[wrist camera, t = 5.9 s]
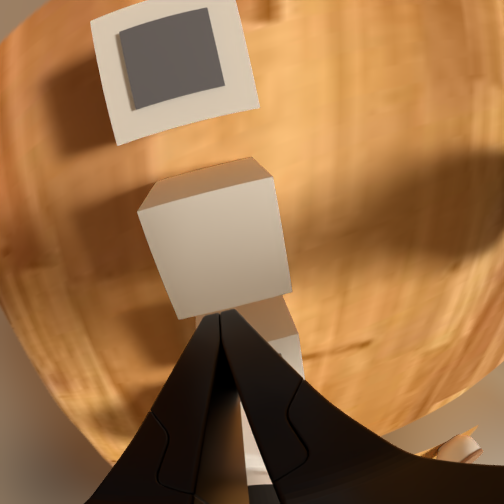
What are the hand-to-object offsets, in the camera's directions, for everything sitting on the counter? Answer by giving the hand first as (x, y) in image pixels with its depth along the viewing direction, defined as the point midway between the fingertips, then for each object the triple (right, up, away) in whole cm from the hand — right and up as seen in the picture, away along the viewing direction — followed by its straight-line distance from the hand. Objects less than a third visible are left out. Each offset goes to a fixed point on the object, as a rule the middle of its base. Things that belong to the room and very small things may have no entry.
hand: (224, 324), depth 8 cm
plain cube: (-1, +4, +8) cm, 9 cm away
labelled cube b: (-3, +10, +5) cm, 12 cm away
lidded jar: (+44, -40, +37) cm, 70 cm away
